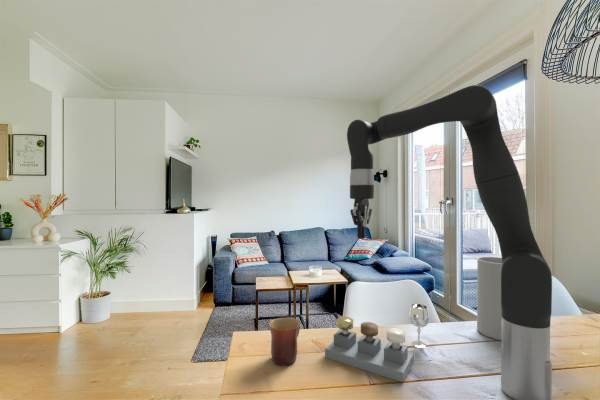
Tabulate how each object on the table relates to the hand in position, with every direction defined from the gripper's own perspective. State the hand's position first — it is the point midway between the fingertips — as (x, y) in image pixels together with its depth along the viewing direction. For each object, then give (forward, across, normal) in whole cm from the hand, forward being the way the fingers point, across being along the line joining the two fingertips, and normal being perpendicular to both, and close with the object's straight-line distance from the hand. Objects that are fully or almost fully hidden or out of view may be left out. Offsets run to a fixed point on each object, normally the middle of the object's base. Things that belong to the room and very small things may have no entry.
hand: (361, 238), depth 98 cm
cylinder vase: (+33, +31, -37) cm, 59 cm away
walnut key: (+29, -9, -6) cm, 31 cm away
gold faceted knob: (+29, -9, +1) cm, 31 cm away
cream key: (+30, -9, -13) cm, 34 cm away
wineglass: (+33, +8, -16) cm, 38 cm away
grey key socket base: (+33, -9, -6) cm, 35 cm away
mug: (+33, -21, +14) cm, 42 cm away
